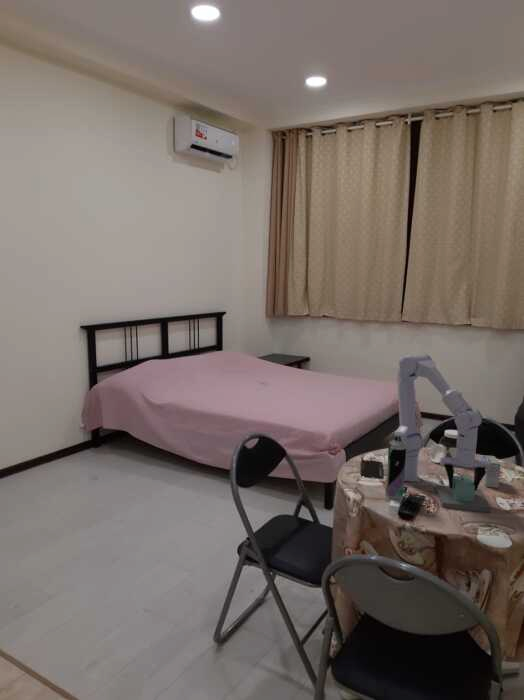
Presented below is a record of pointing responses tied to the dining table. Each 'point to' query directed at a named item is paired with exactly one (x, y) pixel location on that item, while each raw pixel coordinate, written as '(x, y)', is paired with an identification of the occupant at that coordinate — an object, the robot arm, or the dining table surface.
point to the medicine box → (491, 472)
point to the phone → (371, 469)
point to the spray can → (395, 468)
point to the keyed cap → (463, 488)
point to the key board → (450, 502)
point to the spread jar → (445, 447)
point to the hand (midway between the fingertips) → (462, 488)
